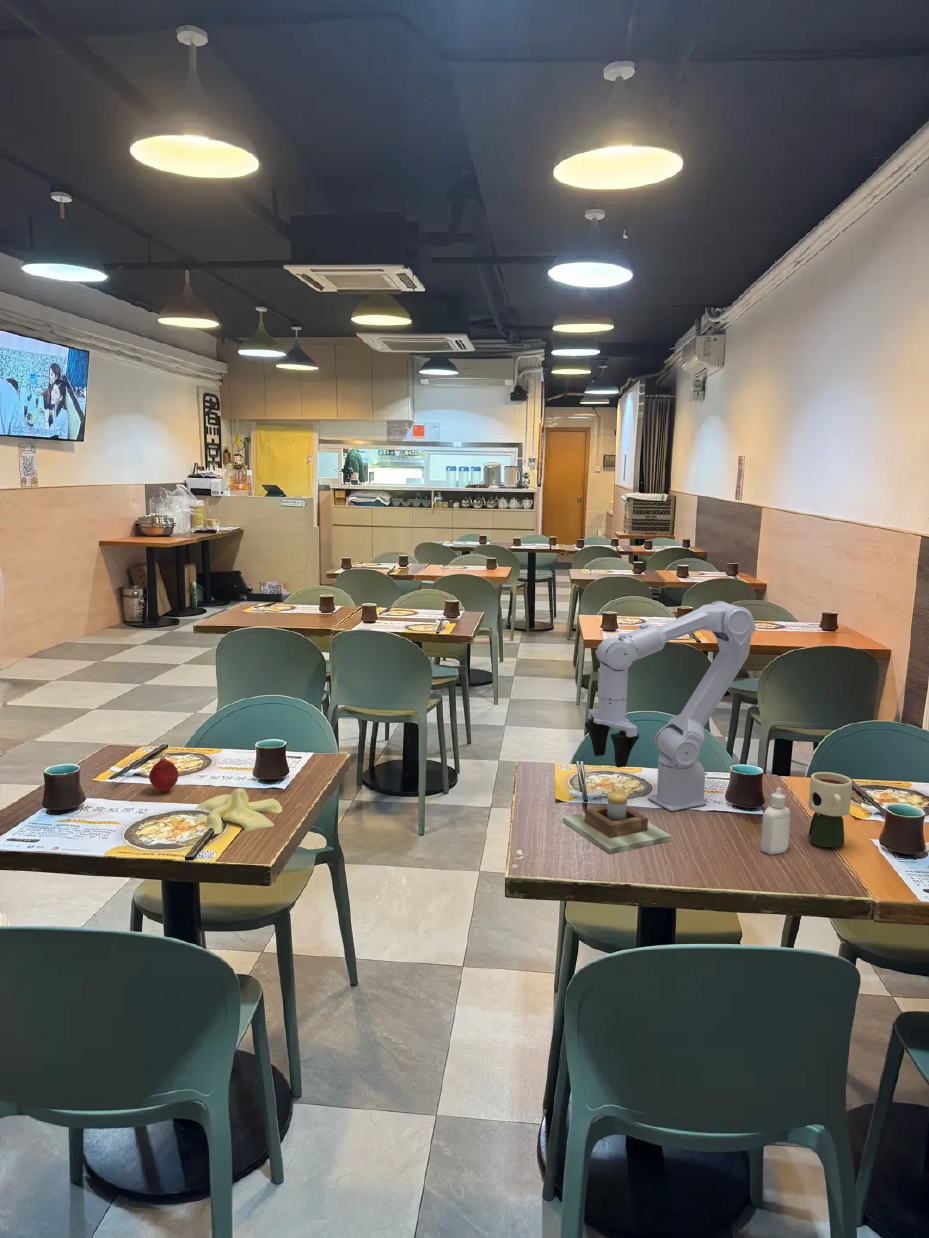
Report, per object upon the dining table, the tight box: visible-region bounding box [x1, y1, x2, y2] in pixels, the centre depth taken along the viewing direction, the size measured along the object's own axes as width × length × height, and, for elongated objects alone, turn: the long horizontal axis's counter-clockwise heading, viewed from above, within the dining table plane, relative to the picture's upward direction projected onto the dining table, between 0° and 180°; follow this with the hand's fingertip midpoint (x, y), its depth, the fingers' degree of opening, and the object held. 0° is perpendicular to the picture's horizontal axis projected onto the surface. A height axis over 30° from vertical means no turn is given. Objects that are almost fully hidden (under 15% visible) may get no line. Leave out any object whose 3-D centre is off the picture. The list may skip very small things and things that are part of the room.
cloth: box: [193, 787, 283, 835], centre depth 166 cm, size 22×19×6 cm
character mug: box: [807, 771, 853, 848], centre depth 157 cm, size 11×7×13 cm, turn 172°
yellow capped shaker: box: [607, 790, 628, 821], centre depth 162 cm, size 4×4×8 cm
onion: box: [148, 755, 179, 793], centre depth 179 cm, size 6×6×8 cm
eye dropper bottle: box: [760, 787, 791, 855], centre depth 154 cm, size 4×6×12 cm
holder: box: [562, 804, 672, 855], centre depth 162 cm, size 14×16×4 cm
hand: (609, 760), depth 173 cm, fingers open, 7 cm apart
